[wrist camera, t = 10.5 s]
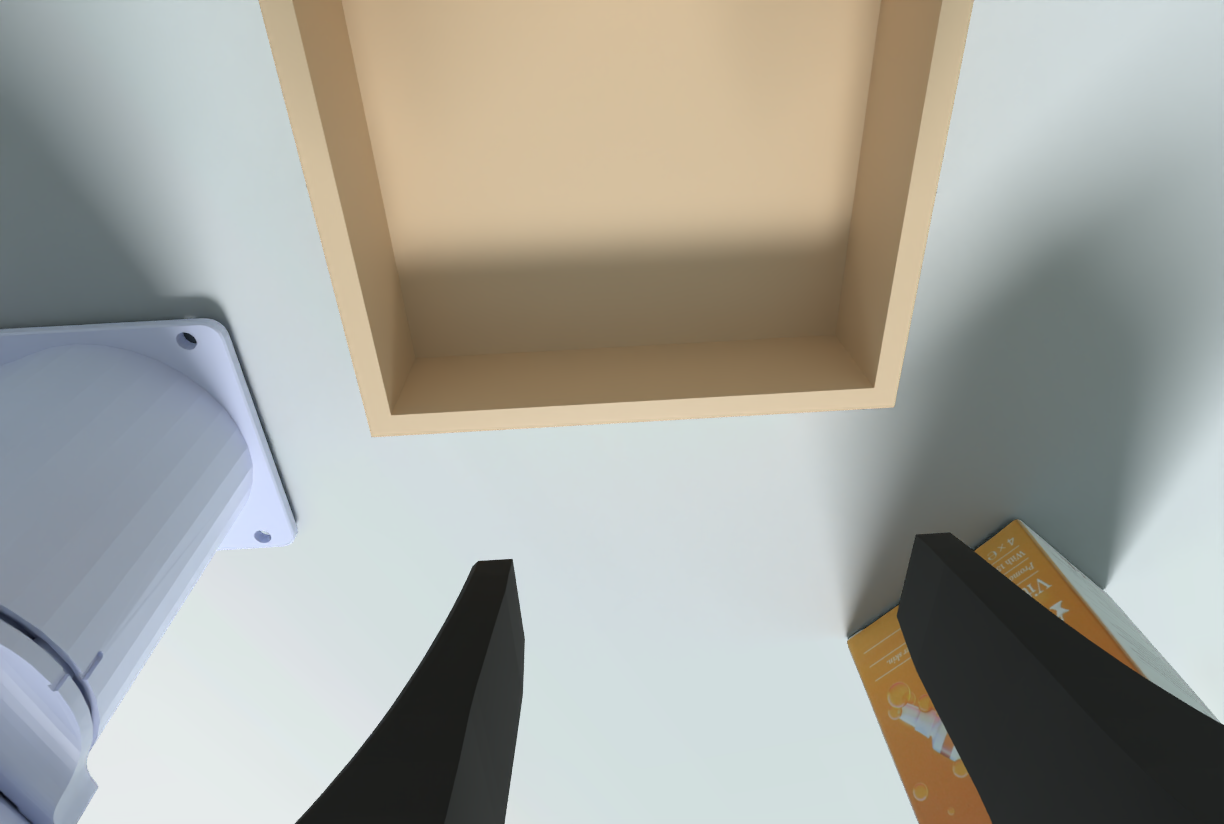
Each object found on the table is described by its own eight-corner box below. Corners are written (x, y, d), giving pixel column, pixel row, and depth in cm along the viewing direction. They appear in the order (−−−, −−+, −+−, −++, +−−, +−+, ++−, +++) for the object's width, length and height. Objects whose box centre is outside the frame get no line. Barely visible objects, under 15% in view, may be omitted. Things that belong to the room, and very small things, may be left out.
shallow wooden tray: (401, 371, 21) (371, 437, 18) (284, -159, 14) (207, -196, 11) (848, 346, 21) (894, 407, 18) (928, -187, 15) (1018, -230, 12)
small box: (1014, 511, 25) (1376, 947, 13) (1108, 591, 27) (1485, 1020, 16) (837, 639, 28) (1014, 1082, 17) (936, 701, 30) (1149, 1127, 19)
